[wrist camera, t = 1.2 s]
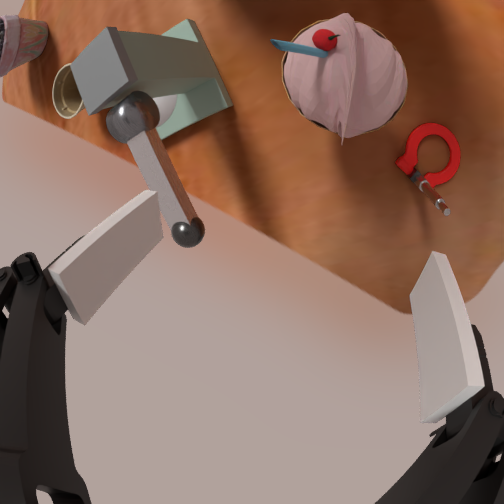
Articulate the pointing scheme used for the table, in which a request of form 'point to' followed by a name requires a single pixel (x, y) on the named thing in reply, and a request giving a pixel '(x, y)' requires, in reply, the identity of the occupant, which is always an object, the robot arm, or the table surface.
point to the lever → (155, 164)
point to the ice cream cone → (343, 76)
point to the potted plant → (20, 41)
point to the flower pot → (66, 94)
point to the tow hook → (429, 179)
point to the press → (152, 74)
